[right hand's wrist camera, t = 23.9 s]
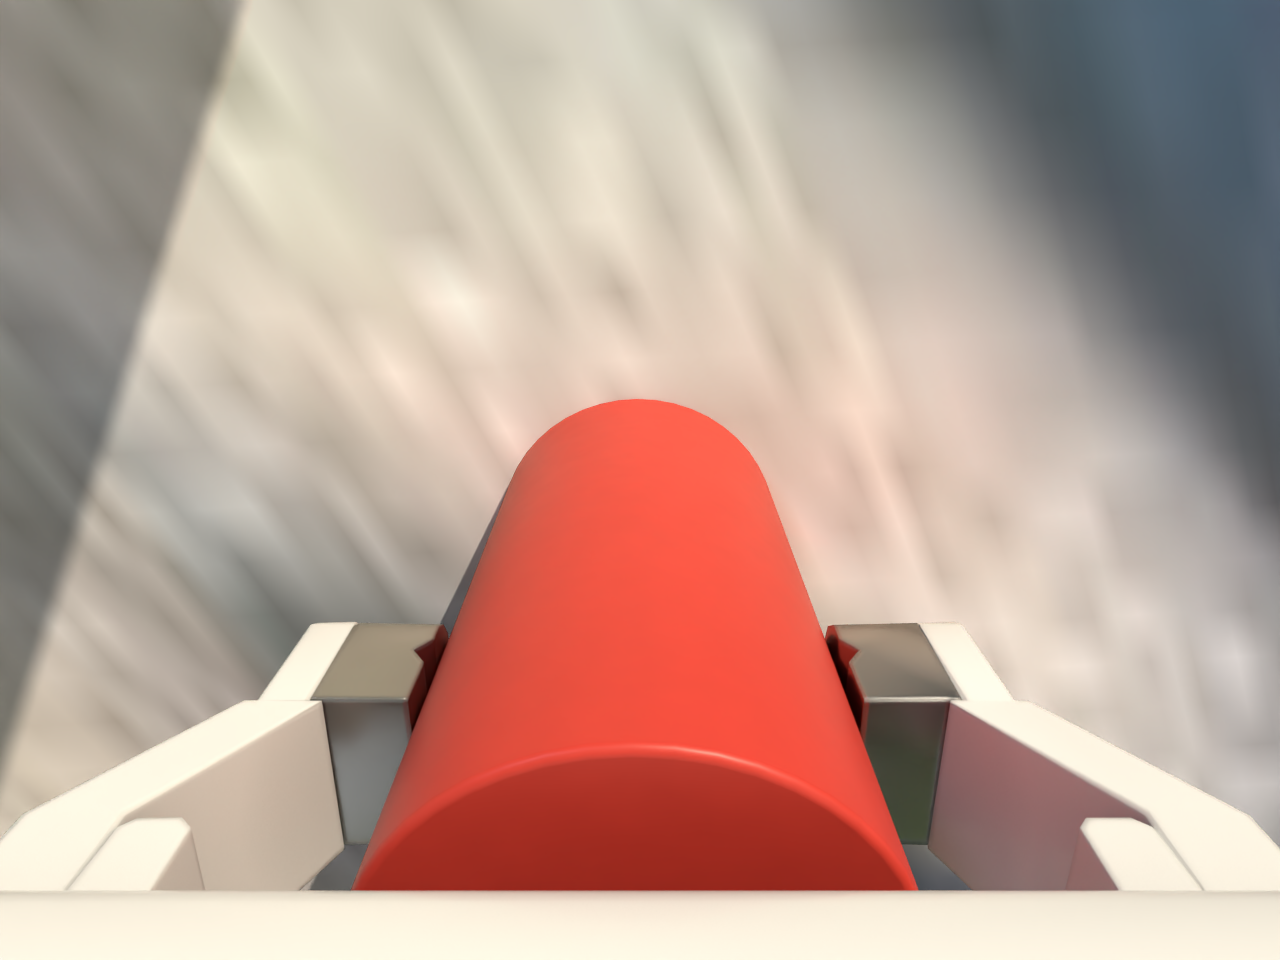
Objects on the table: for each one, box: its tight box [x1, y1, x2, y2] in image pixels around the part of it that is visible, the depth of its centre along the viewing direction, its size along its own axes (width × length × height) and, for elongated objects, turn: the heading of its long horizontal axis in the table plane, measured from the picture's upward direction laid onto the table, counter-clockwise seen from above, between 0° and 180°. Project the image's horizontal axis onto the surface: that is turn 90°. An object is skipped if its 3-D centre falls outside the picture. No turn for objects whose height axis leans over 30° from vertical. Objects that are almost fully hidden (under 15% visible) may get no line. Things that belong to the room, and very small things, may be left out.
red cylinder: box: [351, 399, 919, 891], centre depth 10 cm, size 4×4×8 cm
